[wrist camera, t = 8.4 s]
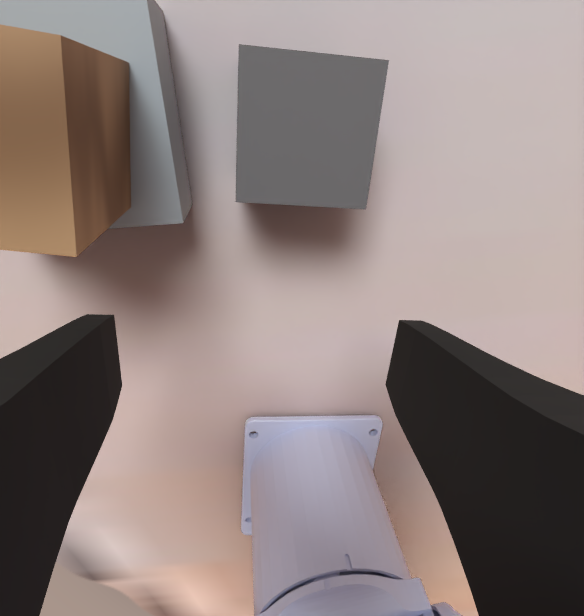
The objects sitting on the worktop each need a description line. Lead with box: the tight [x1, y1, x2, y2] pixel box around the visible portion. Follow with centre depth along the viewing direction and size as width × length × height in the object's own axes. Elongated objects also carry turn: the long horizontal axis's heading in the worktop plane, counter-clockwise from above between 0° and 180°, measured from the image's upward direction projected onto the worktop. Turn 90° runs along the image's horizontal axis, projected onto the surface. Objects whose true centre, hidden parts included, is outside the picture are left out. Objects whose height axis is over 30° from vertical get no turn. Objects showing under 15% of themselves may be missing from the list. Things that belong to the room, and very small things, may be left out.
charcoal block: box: [236, 44, 389, 209], centre depth 15 cm, size 4×4×4 cm
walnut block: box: [0, 24, 131, 257], centre depth 11 cm, size 4×4×6 cm
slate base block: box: [0, 0, 192, 229], centre depth 15 cm, size 7×7×4 cm
